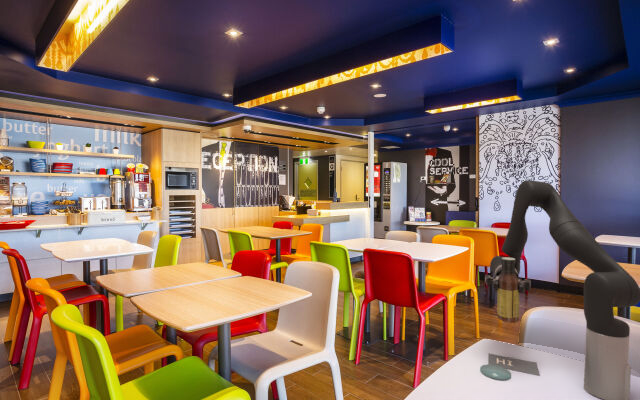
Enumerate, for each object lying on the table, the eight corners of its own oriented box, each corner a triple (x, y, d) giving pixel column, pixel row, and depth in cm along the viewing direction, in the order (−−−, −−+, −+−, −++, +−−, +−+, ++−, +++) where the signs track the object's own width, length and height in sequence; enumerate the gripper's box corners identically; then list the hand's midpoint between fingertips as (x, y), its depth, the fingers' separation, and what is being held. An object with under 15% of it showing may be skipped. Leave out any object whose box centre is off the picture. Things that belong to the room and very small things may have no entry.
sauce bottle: (513, 316, 119) (516, 256, 118) (522, 324, 112) (525, 260, 111) (492, 315, 119) (495, 255, 118) (500, 323, 113) (503, 259, 112)
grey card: (536, 362, 116) (536, 362, 116) (539, 375, 108) (539, 375, 108) (488, 353, 122) (488, 353, 122) (488, 365, 114) (488, 364, 114)
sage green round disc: (510, 370, 111) (510, 368, 111) (511, 383, 104) (512, 381, 104) (480, 363, 115) (480, 362, 115) (479, 376, 107) (479, 374, 107)
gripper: (484, 263, 131) (483, 273, 116) (530, 267, 125) (535, 279, 110) (483, 284, 131) (482, 296, 116) (529, 289, 125) (534, 303, 110)
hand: (508, 288), depth 113 cm, fingers closed on sauce bottle, 6 cm apart
